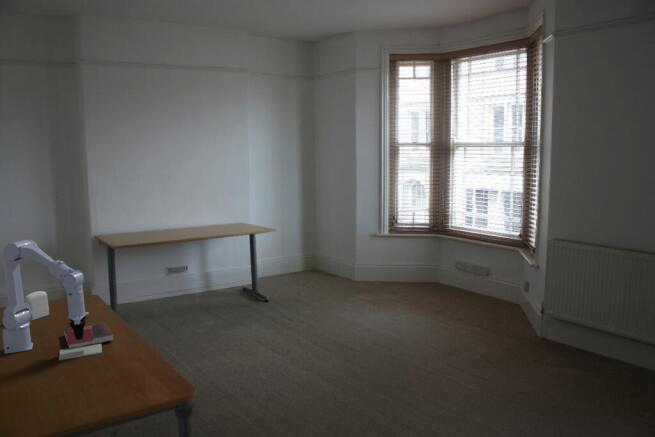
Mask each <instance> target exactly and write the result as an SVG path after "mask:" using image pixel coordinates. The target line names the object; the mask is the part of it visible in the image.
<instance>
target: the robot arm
mask: <svg viewBox="0 0 655 437" xmlns="http://www.w3.org/2000/svg"><path fill="white" fill-rule="evenodd" d="M2 249H3V259H2V265H3V271H4V280H5V288H6V295H7V296H6V297H7V303H8V305H6V308H4V310H3V317H2V324H3V326H4V327H5V328H4V329H2V341H3V350H4V354H5V355H7V354H12V353H13V354H14V353H20V352H25V351H32V350H33V346H34V342H32V340H31V339H32V338H31V332H30V331H31V330H30V325H31V322H32V321H33V320H32V318H33V314H32V312H31V310H30V306H29V304H27V303H25V300H24V299H25V297H24V289H23V280H22V274H21V265H20V264H21V263H22V262H23V261H24V259H33V260H34V261H36V262H38V263H39V264H42V266H45V267H46V268H47V269H48V273H49V274H51V275H52V276H54V277H55V278H57V280H59V281H60V282H61V284H62V286H63V287H64V290H65V292H66V293H65V294H66V298H67V307H68V319H69V321H70V322H69V327H70V328H72V329H73V331H74V334H75V337H76V340H80V339H82V338H83V329H84V326H86V323H87V322H86V318H87V316H89V314H90V313H89V311H86V308H85V297H84V289H83V288H84V286H83V284H85V282H86V276H85V274H84V273H83V272H82V271H81V270H79V269H78V270H77V269H76V270H75V269H73V268H71V267H70V266H68V265H67V264H66V263H65V261H63V260H58V259H57V260H54V259H53V258H52V257H51V256H50V255H48V254H47V253H45V251H43V249H41V248H40V247H39V246H38V243H37V242H35V241H34V240H32V239H30V238H24V239H22V240H19V241H13V242H9V243H8V244H6V245H5V246H4V247H3V248H2ZM31 320H32V321H31Z"/></svg>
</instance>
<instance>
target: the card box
mask: <svg viewBox="0 0 655 437" xmlns="http://www.w3.org/2000/svg"><path fill="white" fill-rule="evenodd" d="M90 325H91V326H89V325H84V329H83V338H82V339H80V340H76V337H75V334H74V331H73V329H72V327H70V328H66V329H67V330H66V335H67V340H66V343H67V346H68V345H71V344H78V343H84V342H91V341H93V333H92V325H93V324H90Z"/></svg>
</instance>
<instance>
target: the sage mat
mask: <svg viewBox="0 0 655 437" xmlns="http://www.w3.org/2000/svg"><path fill="white" fill-rule="evenodd" d="M100 354H103V347H102V343H96V344H90V345H85V346H80V347H75V348H71V349H70V348H69V347H68V348H64V349H59V356H58V360H59V361H64V360H69V359H75V358H76V359H77V358H81V357H87V356H88V357H89V356H95V355H100Z"/></svg>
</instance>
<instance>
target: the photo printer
mask: <svg viewBox="0 0 655 437" xmlns="http://www.w3.org/2000/svg"><path fill="white" fill-rule="evenodd" d="M24 302H25V303H27V304H29V306H30V310H31V312H32V314H33V318H32V320H31V321H30V322H32V321H35V320H38V319H41V318H44V317H46V316H49V315H50V307H49V299H48V294H47V292H46V291H44V290H43V291H42V290H38V291H34V292H30V293H28V294H27V295H26V296H25V297H24Z"/></svg>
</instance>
